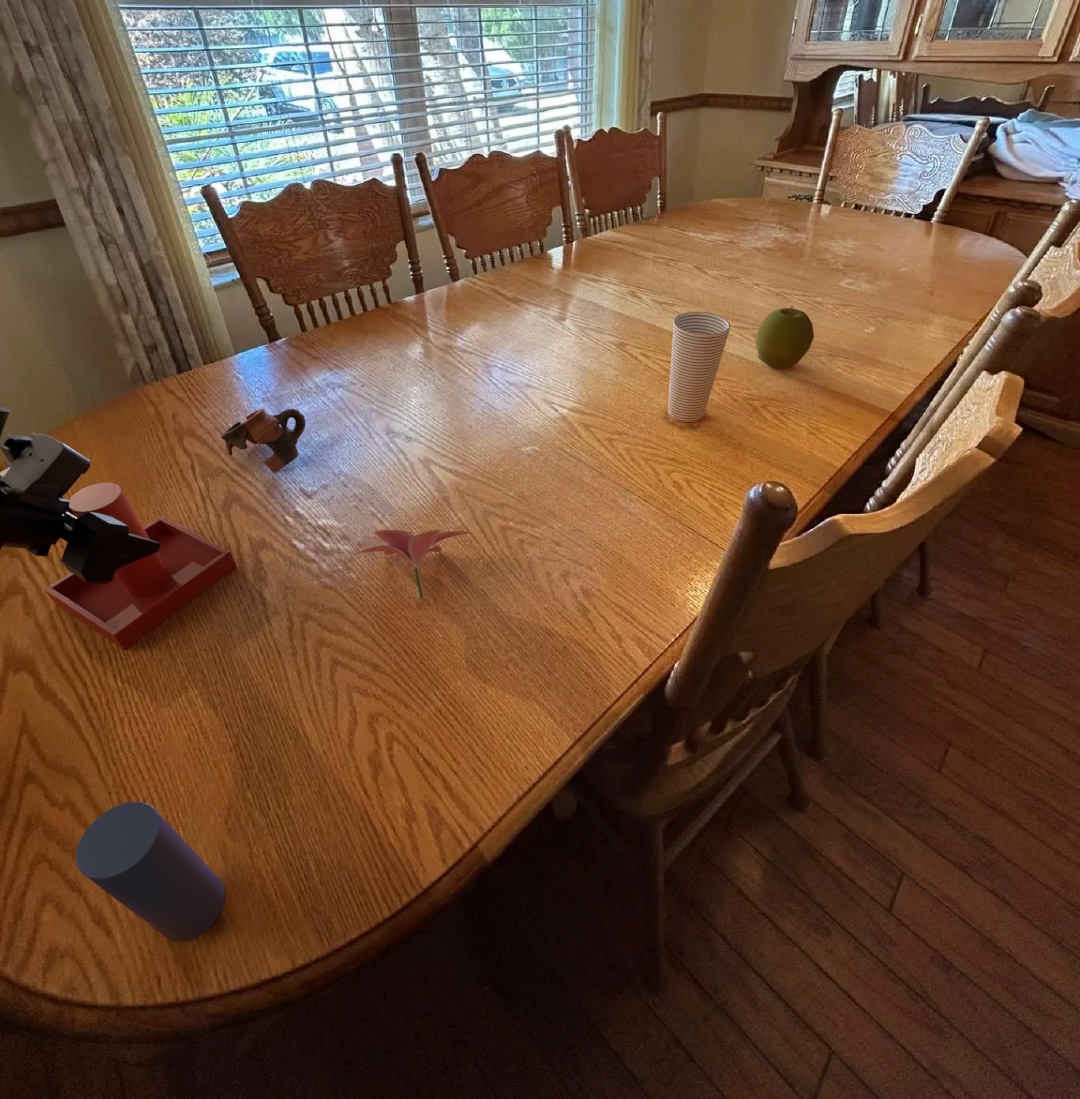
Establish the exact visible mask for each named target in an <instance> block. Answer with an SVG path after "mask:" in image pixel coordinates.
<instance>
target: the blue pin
mask: <svg viewBox="0 0 1080 1099" xmlns="http://www.w3.org/2000/svg"><path fill="white" fill-rule="evenodd" d="M75 864H76V867H77V869H78V871H79V872H80V873H81V874H82V875H83V876H84V877H86V878H87V879H89V880H90V881H91V882H93V883H94V884H95V885H97V886H98V887H99V888H100V889H102V890H103V891H104V892H106V893H107V894H108V895H110V897H112V898H114V899H115V900H116V901H118V902H119V903H120V904H121V905H123V906H124V907H125V908H126V909H128V910H129V911H131V912H132V913H133V914H135V915H136V916H137V917H138V918H140V919H141V920H143V921H144V922H145V923H147V924H148V925H149V926H150V927H151V928H153V929H154V930H156V931H157V932H158V933H160V934H161V936H164V937H165V938H166V939H168V940H170V941H174V942H185V941H189V940H192V939H195V938H196V937H199V936H200V935H202V934H203V933H204V932H206V931H207V930H208V929H209V928H211V926H212V925H213V924H214V923H215V922H216V920H217V919H218V917H219V916H220V914H221V912H222V910H223V907H224V906H225V901H226V889H225V888H226V887H225V885H224V883H223V881H222V880H221V878H220V877H219V876H218V875H217V873H215V872H214V871H213V870H212V869H211V868H210V866H209V865H207V863H206V862H205V861H204V860H203V859H202V858H201V857H200V856H199V855H198V854H197V852H195V850H194V848H192V847H191V846H190V845H189V844H188V843H187V842H186V841H185V840H184V839H183V837H182V836H181V835H180V834H179V833H178V832H177V831H176V830H175V829H174V828H173V827H172V826H171V825H170V824H169V822H168V821H167V820H166V819H165V818H164V817H163V816H162V815H161V814H160V813H159V812H158V810H157V809H156V808H154V807H153V806H152V805H151V804H149V803H146V802H143V801H128V802H125V803H121V804H118V805H115V806H113V807H111V808H109V809H108V810H106V811H104V812H103V813H102V814H100V815H99V816H98V817H97V818H96V819H94V820H93V821H92V822H91V823H90V824H89V826H87V828H86V829H85V831H84V832H83V833H82V835H81V837H80V839H79V841H78V843H77V846H76V849H75Z"/></svg>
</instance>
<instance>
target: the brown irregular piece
mask: <svg viewBox="0 0 1080 1099" xmlns="http://www.w3.org/2000/svg"><path fill="white" fill-rule="evenodd" d="M245 418H246V420H245V421H243V422H242V423H241V421H238V422H236V423H234V424H233V425H232V426H230V427H229V428H227V430H225V432H223V434H221V435H220V438H221V439H222V440H223V441H224V442H225V450H226V452H227V454H228V455H229V456H233V448H234V447H235V448H237V449H239V450H241V451H243V450H247V449H248V445H247V441H248V442H249V443H251V444H253V445H258V444H259V445H266V447H268V448H269V449H271V450H272V451H273V454H272V455H270V456H269V457H268V458H267V459H265V460H264V464H265V465H266V466H267V467H268V468H269V470H270V471H271V472H272V473H273V474H276V473H277V472H279V471H280V470H282V469H284V468H285V467H286V466H287V465H289V464H290V463H291V462H293V461H294V460H296V459H297V458H298V456H299V451H298V447H297V445H298V441H299V439H300V437H301V436H302V435H303V434H304V431H305V429H306V418H305V415H304V414H303V413H301V411H300V410H298V409H295V408H288V409H285V410H283V411H281V412H280V413H278V414H273V415H272V414H268V413H267V412H266V411H265V409H264V408H258V409H256V410H255V411H253V412H252V413H250V414H248V415H247V416H245ZM291 418H292V419H293V420H294V427H293V429H290V427H288V422H289V419H291Z"/></svg>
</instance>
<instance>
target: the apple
mask: <svg viewBox="0 0 1080 1099" xmlns="http://www.w3.org/2000/svg"><path fill="white" fill-rule="evenodd" d="M814 337H815V333H814V327H813V323H812V321H811V318H810V317H809V316H808V314H807V313H806V312H804V310H803V311H802V310H800V309H797V308H793V305H791V307H782V308H776V309H773V311H771V312H769V313H768V314H767V315H766V316H765V317H764V318H763V319H762V321H761V322H760V324H759V325H758V327H757V330H756V336H755V341H754V342H755V346H756V350H757V355H758V359H759V360H760V361H761V362H763V363H764V364H765V365H767V366H768V367H771V368H776V369H778V368H779V369H780V368H786V367H792V366H794V365H797V364H798V363H799V362H800V361H801V360H802V359H803V357H804V356H806V354H807V353H808V352H809V350H810V348H811V346H812V344H813V340H814Z"/></svg>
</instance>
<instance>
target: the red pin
mask: <svg viewBox="0 0 1080 1099" xmlns="http://www.w3.org/2000/svg"><path fill="white" fill-rule="evenodd" d="M68 500H69V502H70V503H69V508H70V509H71V511H72V512H73V514H74V515H75V516H76V517H77V518H79V517H80V516H82V515H84V514H86V513H87V512H94V513H100V514H103V515H107V516H108V515H110V516H112V517H114V518H116V519H118V520H119V521H121V522H123V523H124V524H125V525H127V526H128V530H129V533H130V534H134V535H137V536H140V537H143V538H147V539H149V537H148V535H147V534H146V532H145V530H144V528H143V527H144V526H143V525H142V523H141V520H140V519H139V517H138V516H137V514H136V512H135V511H134V509H133V507H132V505H131V504H130V502H129V501H128V498H127V497H126V494H125V493H124V491H123V490H122V488H121V487H120V486H119V485H118V484H116V483H113V482H100V483H95V484H90V485H88V486H86V487H84V488H81V489H79V490H78V491H77V492H75V493H74V494H73V495H72V496H70V498H69V499H68ZM114 576H115V578H116V579H117V581H118V582H119V584H120V585H121V587H122V588H123V590H124V591H125V593H126V594H128V595H130V596H134V597H141V596H146V595H150V594H152V593H154V592H156V591H158V590H160V589H161V588H162V587H163V586H164V585H165V584H166V583H167V581H168V579H169V572H168V570H167V569H166V567H165V565H164V563H163V562H162V560H161V558H160V556H159V555H158V553H155V554H152V555H150V556H147V557H145V558H142V559H140V560H137V561H135V562H132V563H130V564H127V565H125V566H123V567H121V568H119V569H117V570H116V571H115V573H114Z"/></svg>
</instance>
